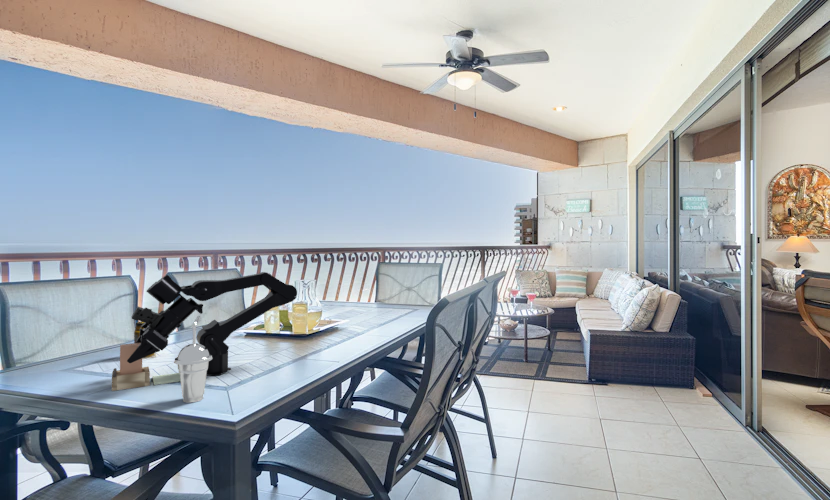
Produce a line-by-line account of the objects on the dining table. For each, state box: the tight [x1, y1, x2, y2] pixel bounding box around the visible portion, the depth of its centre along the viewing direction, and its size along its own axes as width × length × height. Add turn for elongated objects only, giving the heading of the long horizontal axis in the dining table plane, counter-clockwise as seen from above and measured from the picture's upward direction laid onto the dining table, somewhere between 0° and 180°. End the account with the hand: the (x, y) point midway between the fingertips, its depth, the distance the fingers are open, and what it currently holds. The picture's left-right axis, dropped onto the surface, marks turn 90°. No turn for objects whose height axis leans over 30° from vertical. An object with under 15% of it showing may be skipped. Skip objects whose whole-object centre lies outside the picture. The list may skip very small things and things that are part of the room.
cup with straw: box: [173, 315, 213, 404], centre depth 105 cm, size 8×9×20 cm
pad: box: [152, 372, 181, 386], centre depth 120 cm, size 8×8×1 cm
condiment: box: [133, 321, 157, 360], centre depth 145 cm, size 7×8×12 cm
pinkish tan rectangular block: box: [119, 342, 143, 375], centre depth 115 cm, size 5×3×11 cm, turn 124°
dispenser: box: [111, 366, 151, 392], centre depth 115 cm, size 8×7×4 cm
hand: (128, 358), depth 115 cm, fingers open, 9 cm apart
